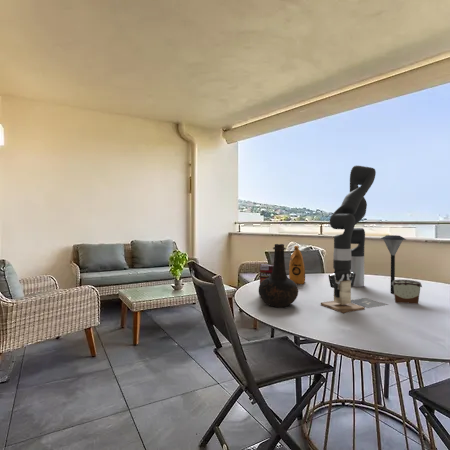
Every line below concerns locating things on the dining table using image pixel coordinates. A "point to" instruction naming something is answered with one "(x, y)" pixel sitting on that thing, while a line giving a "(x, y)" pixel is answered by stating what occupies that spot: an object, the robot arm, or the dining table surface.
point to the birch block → (344, 292)
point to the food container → (406, 291)
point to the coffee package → (297, 267)
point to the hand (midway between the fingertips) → (342, 296)
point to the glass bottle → (278, 283)
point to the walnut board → (342, 306)
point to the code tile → (367, 303)
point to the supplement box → (265, 271)
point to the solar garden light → (392, 252)
